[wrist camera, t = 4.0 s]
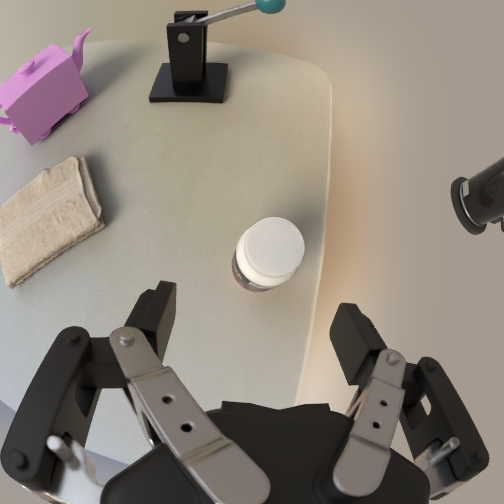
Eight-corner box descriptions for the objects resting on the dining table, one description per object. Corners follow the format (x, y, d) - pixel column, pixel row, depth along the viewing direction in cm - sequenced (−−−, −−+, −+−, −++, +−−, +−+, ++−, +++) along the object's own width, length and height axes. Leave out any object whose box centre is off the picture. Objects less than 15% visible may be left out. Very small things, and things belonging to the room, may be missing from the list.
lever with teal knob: (288, 4, 22) (279, -17, 19) (290, 14, 22) (281, -9, 18) (188, 34, 27) (175, 17, 24) (183, 46, 26) (168, 29, 23)
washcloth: (112, 225, 29) (103, 216, 26) (14, 293, 25) (1, 290, 22) (87, 156, 31) (79, 144, 28) (0, 221, 26) (-12, 215, 23)
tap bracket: (227, 68, 37) (234, 6, 25) (222, 103, 35) (228, 33, 23) (163, 68, 36) (156, 7, 23) (149, 102, 34) (135, 36, 21)
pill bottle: (232, 240, 30) (240, 206, 21) (281, 243, 31) (310, 211, 22) (230, 292, 29) (238, 281, 20) (282, 293, 30) (313, 282, 20)
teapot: (25, 161, 29) (-15, 118, 17) (12, 134, 30) (-20, 94, 17) (118, 82, 34) (102, 25, 22) (95, 65, 35) (79, 17, 23)
